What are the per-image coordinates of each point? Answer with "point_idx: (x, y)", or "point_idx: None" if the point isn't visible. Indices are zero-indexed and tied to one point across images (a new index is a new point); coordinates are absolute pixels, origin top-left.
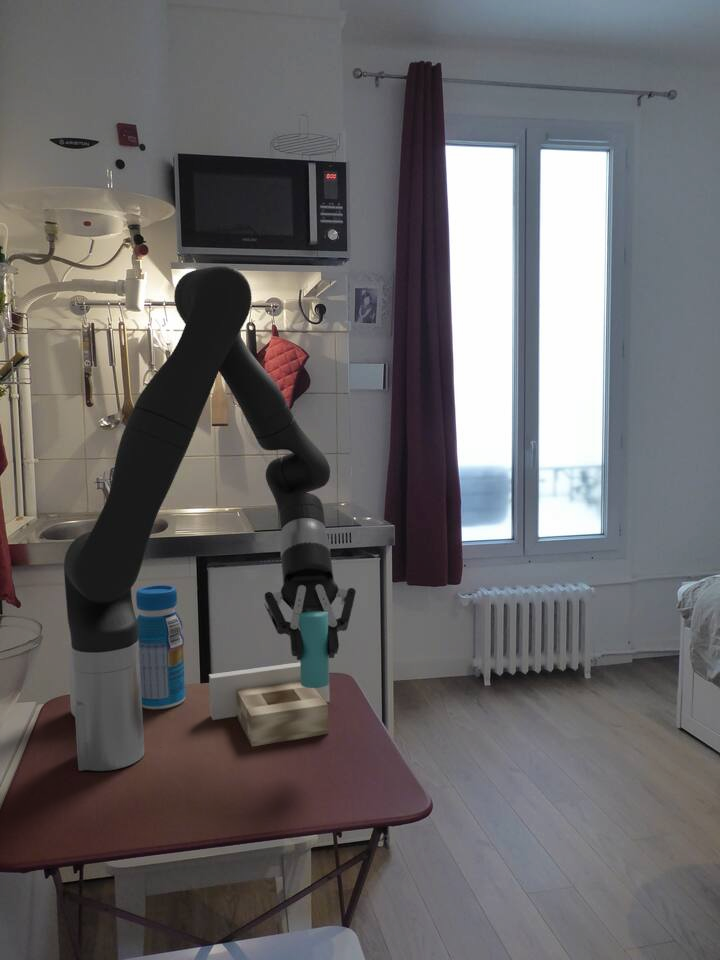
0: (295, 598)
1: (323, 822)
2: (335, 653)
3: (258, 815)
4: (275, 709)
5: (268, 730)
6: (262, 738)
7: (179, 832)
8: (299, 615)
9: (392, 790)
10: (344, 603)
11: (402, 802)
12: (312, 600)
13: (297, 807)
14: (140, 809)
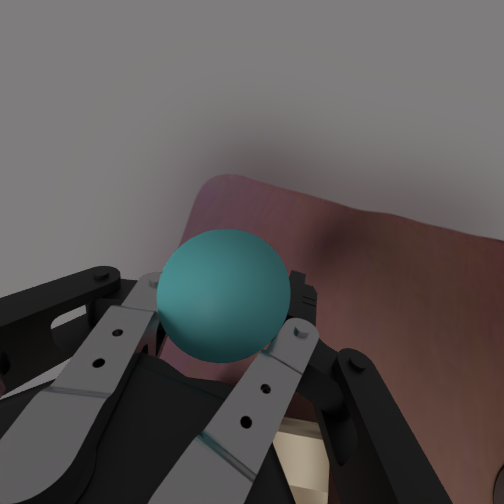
0: (257, 484)
1: (301, 195)
2: None
3: (357, 235)
4: (278, 448)
5: (293, 424)
6: (302, 422)
7: (440, 243)
8: (287, 311)
9: (213, 215)
10: (21, 318)
11: (218, 191)
12: (156, 412)
13: (315, 231)
14: (484, 312)
